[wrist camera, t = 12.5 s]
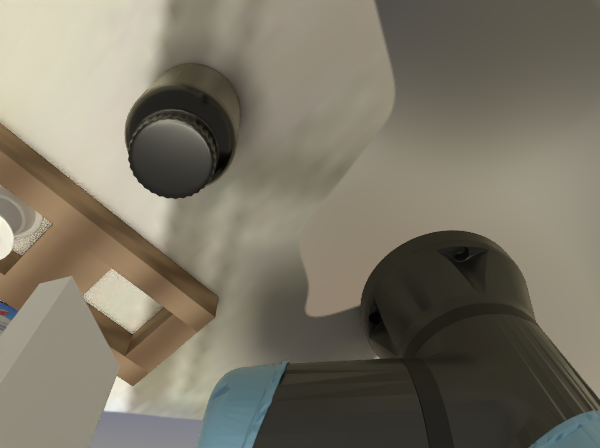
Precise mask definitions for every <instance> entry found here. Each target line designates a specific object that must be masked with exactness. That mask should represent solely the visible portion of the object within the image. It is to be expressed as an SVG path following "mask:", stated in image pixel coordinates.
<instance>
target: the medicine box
mask: <svg viewBox="0 0 600 448" xmlns="http://www.w3.org/2000/svg"><path fill="white" fill-rule="evenodd" d="M18 312H19V311H17V310H16V309H14V308H12V307H11V306H9V305H6V304H3V303H1V302H0V336H1V334H2V333H3V332H4V330H5V329H6V328H7V326H8V325H9V324H10V322H11V321H12V320H13V318H14V317H15V316H16V314H17V313H18Z"/></svg>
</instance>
